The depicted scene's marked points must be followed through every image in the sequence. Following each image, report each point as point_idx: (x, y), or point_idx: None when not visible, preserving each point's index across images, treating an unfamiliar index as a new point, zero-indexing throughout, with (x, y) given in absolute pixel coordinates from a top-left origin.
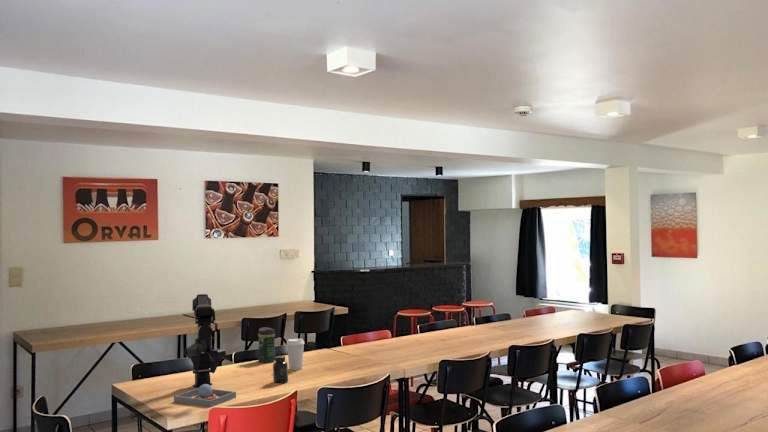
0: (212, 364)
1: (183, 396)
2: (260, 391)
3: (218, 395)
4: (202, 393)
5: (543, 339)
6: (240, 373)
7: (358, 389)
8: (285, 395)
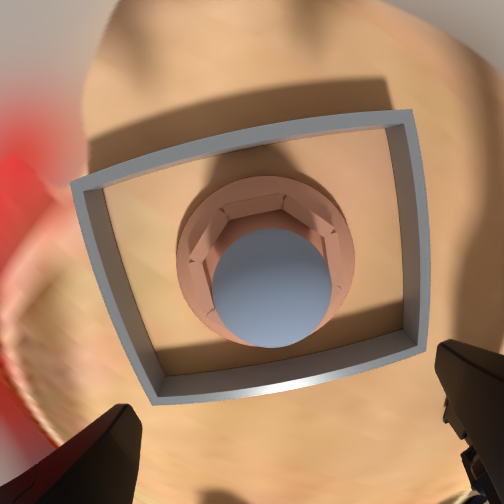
0: (32, 483)
1: (404, 189)
2: (180, 470)
3: (272, 363)
4: (238, 238)
5: None
6: (425, 494)
7: None
8: None
